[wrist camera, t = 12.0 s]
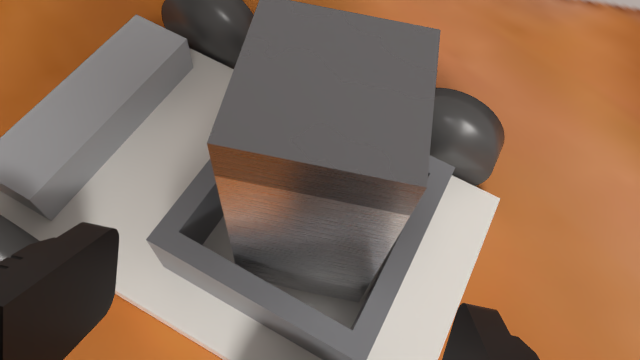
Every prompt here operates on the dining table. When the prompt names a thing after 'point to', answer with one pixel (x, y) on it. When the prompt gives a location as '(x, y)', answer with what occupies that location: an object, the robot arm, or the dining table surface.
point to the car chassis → (205, 206)
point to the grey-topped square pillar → (323, 144)
